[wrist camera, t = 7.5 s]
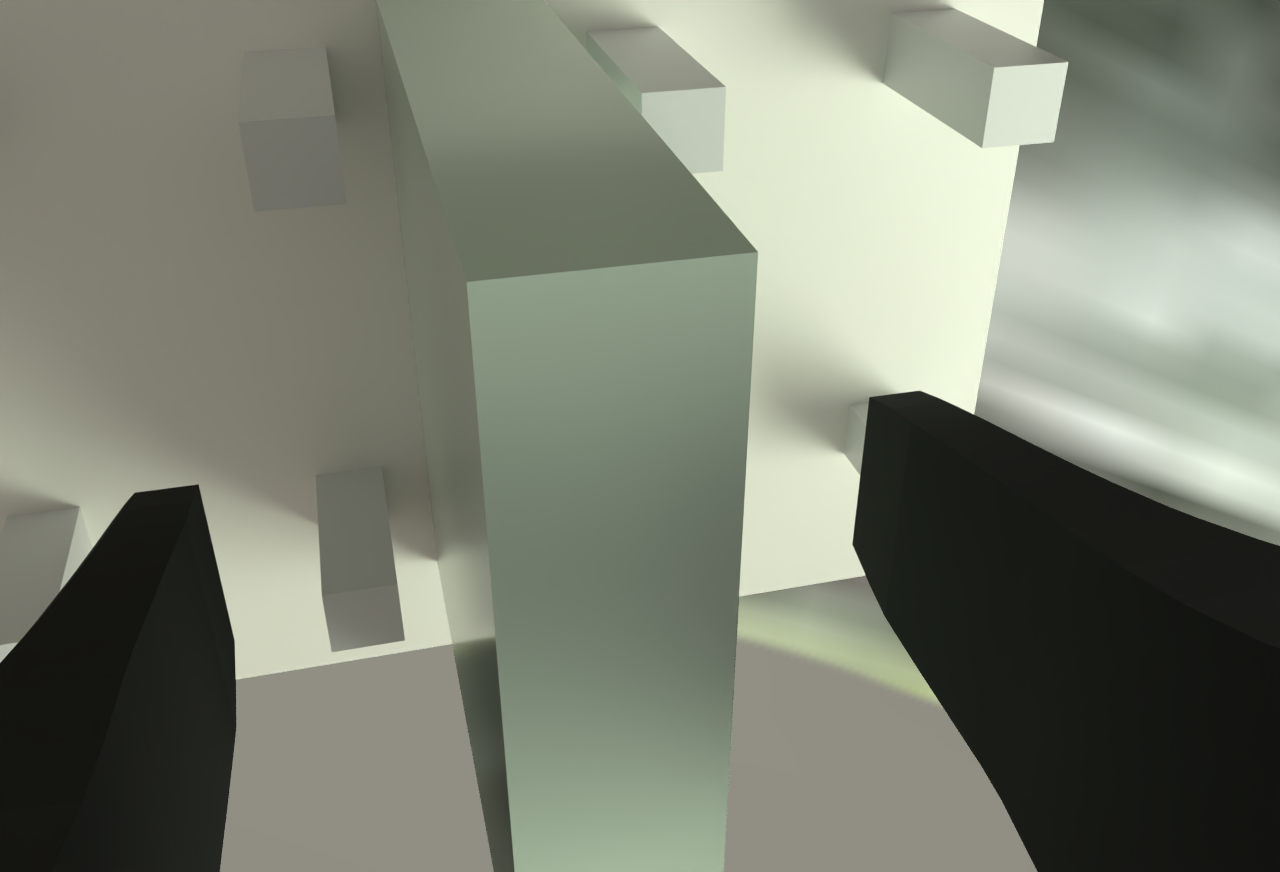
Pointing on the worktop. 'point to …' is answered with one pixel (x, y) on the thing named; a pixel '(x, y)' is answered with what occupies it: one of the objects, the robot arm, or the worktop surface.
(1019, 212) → the worktop surface
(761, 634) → the worktop surface
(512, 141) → the pale green tall block
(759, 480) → the rack
